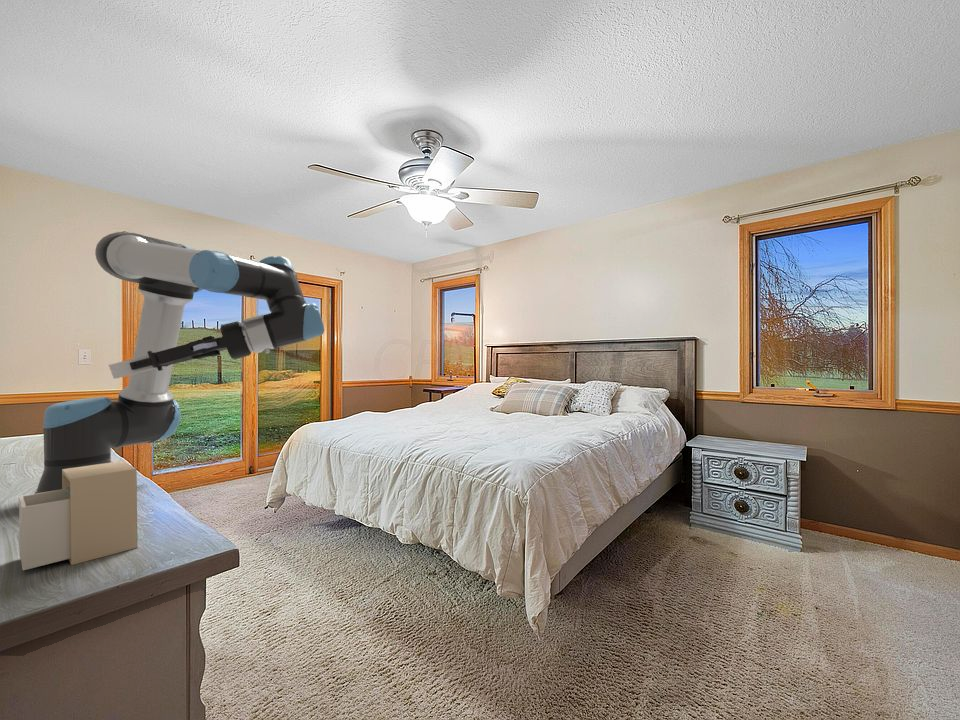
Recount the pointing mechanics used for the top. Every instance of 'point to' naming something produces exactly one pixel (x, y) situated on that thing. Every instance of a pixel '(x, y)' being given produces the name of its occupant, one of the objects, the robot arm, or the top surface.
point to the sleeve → (101, 509)
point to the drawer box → (44, 528)
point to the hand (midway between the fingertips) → (112, 371)
